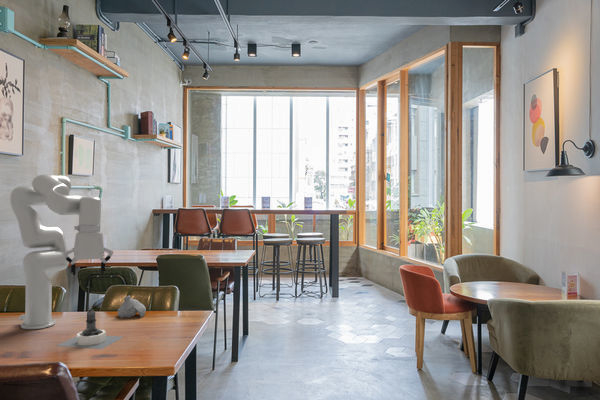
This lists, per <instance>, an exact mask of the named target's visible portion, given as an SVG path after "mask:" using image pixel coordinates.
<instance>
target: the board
mask: <svg viewBox="0 0 600 400" xmlns="http://www.w3.org/2000/svg"><path fill="white" fill-rule="evenodd" d="M123 338H124V336H115V335H106V340H105V341H103V342H101V343H100V344H94V345H78V343H77V335H76V336H75V337H71V338H70V339H67V340H65V341H63V342H61V343H58V344H57V345H56V347H70V348H80V349H96V350H102V349H105V348H107V347H108V346H110V345H112V344H113V343H116V342H118V341H120V340H122V339H123Z"/></svg>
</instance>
